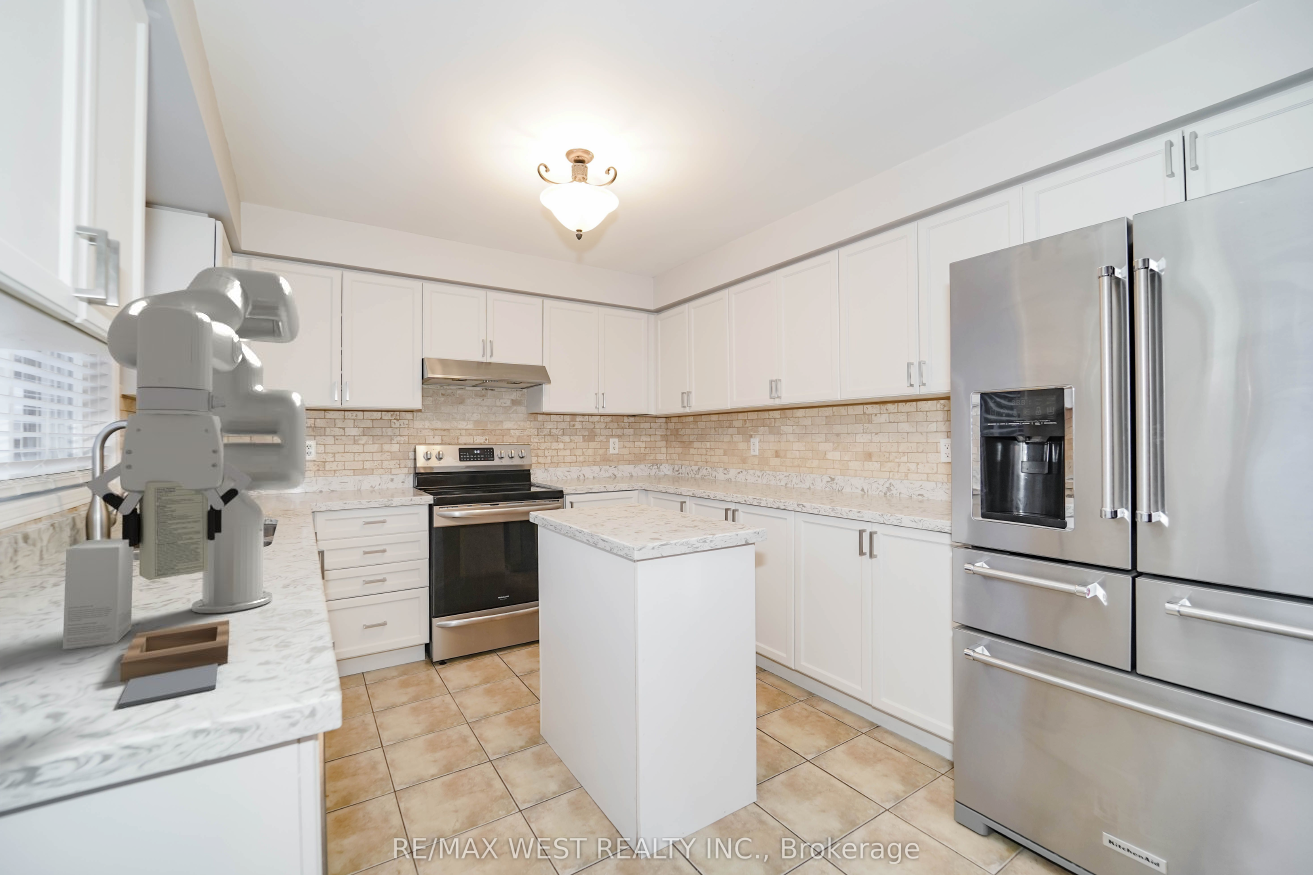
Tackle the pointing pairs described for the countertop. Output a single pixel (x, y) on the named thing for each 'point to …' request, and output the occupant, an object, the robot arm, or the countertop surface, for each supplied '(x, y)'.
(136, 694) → the slate mat
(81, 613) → the skincare box
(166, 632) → the hollow wooden block
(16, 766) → the countertop surface
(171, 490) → the skincare box
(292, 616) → the countertop surface
